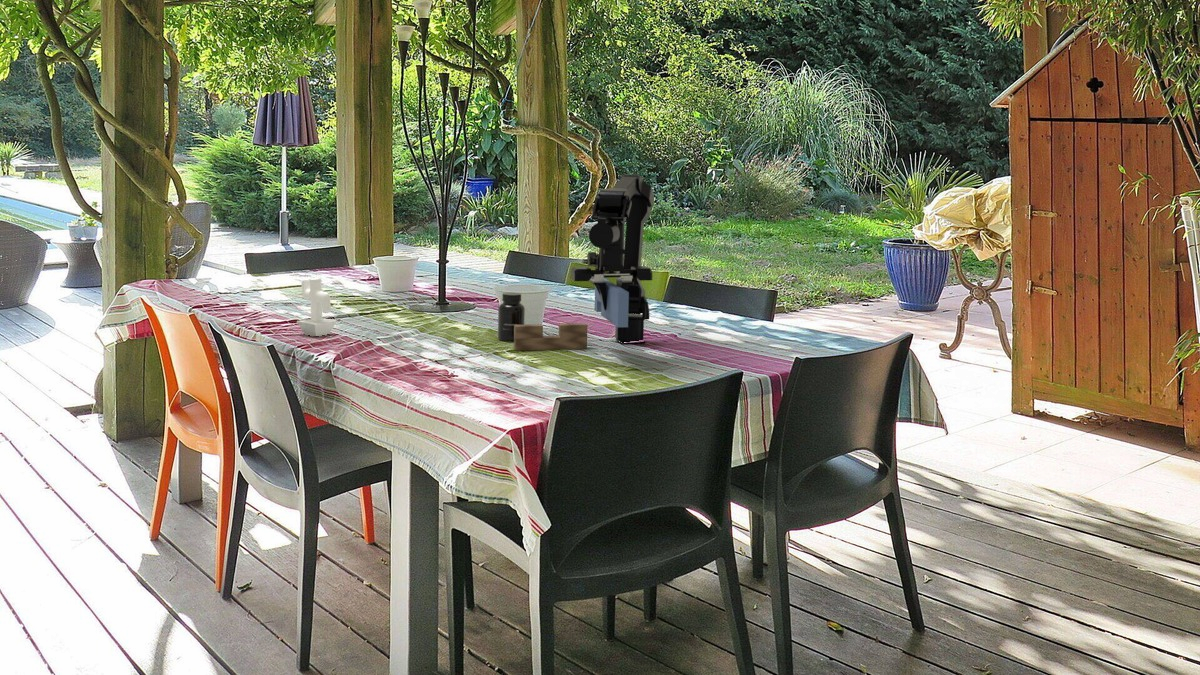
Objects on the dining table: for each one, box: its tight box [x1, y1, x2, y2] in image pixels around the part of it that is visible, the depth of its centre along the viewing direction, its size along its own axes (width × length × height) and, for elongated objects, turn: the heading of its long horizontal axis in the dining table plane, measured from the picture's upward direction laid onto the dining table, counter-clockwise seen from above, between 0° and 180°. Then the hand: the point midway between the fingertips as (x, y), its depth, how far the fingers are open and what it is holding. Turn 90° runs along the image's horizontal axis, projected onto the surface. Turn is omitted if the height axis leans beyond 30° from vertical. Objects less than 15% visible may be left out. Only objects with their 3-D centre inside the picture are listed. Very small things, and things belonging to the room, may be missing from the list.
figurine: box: [296, 276, 338, 337], centre depth 270 cm, size 7×9×15 cm
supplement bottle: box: [497, 292, 526, 343], centre depth 268 cm, size 7×7×12 cm
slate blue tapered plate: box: [593, 278, 629, 327], centre depth 246 cm, size 24×2×8 cm, turn 13°
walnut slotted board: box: [513, 322, 588, 352], centre depth 258 cm, size 18×2×6 cm, turn 103°
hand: (610, 309), depth 247 cm, fingers closed on slate blue tapered plate, 2 cm apart
